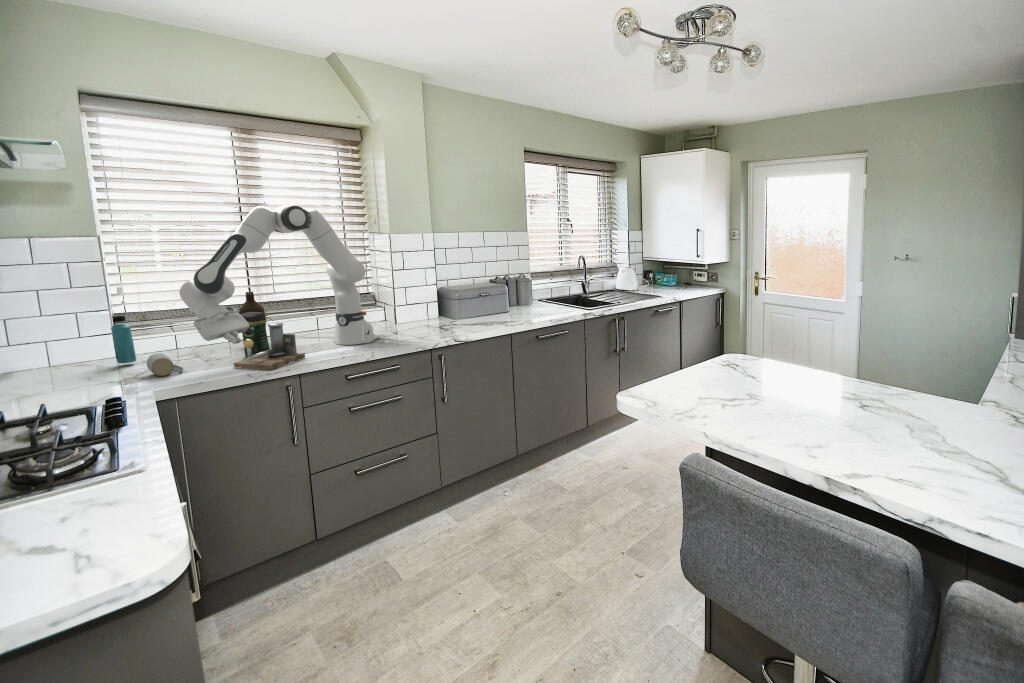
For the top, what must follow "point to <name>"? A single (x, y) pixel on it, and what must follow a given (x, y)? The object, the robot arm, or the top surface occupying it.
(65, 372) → the top surface
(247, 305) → the olive oil
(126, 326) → the beverage bottle
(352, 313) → the robot arm
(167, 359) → the ceramic mug
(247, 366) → the stand
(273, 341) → the capstan
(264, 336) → the coffee jar
